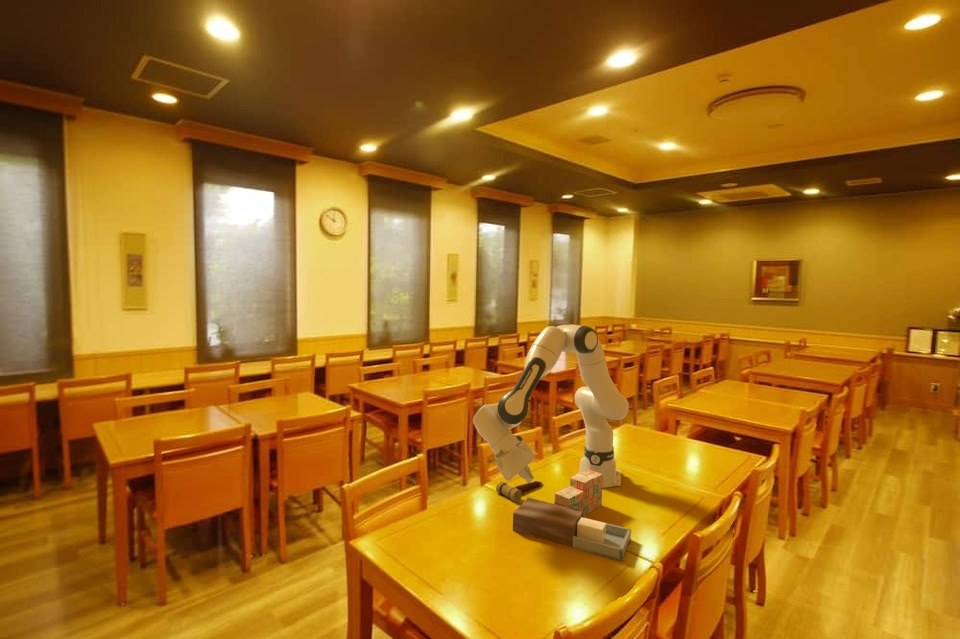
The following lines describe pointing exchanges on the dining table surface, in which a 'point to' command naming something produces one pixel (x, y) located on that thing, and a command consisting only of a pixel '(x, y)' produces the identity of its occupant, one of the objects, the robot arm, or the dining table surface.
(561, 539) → the dark brown brick
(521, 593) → the dining table surface
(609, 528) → the box
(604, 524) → the tile block
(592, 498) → the stack of blocks
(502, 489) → the gavel
